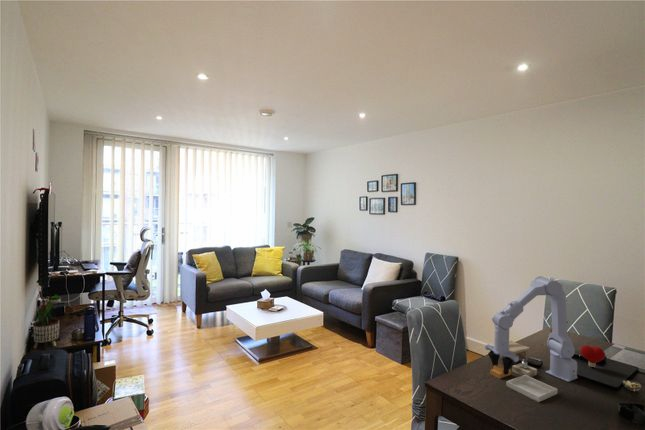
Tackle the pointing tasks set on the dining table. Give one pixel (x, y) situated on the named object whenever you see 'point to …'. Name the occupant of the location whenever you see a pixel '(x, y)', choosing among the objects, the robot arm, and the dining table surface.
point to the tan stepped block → (499, 371)
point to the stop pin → (524, 364)
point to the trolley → (517, 350)
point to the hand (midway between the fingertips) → (500, 371)
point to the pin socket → (521, 371)
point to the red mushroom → (592, 354)
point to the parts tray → (531, 388)
